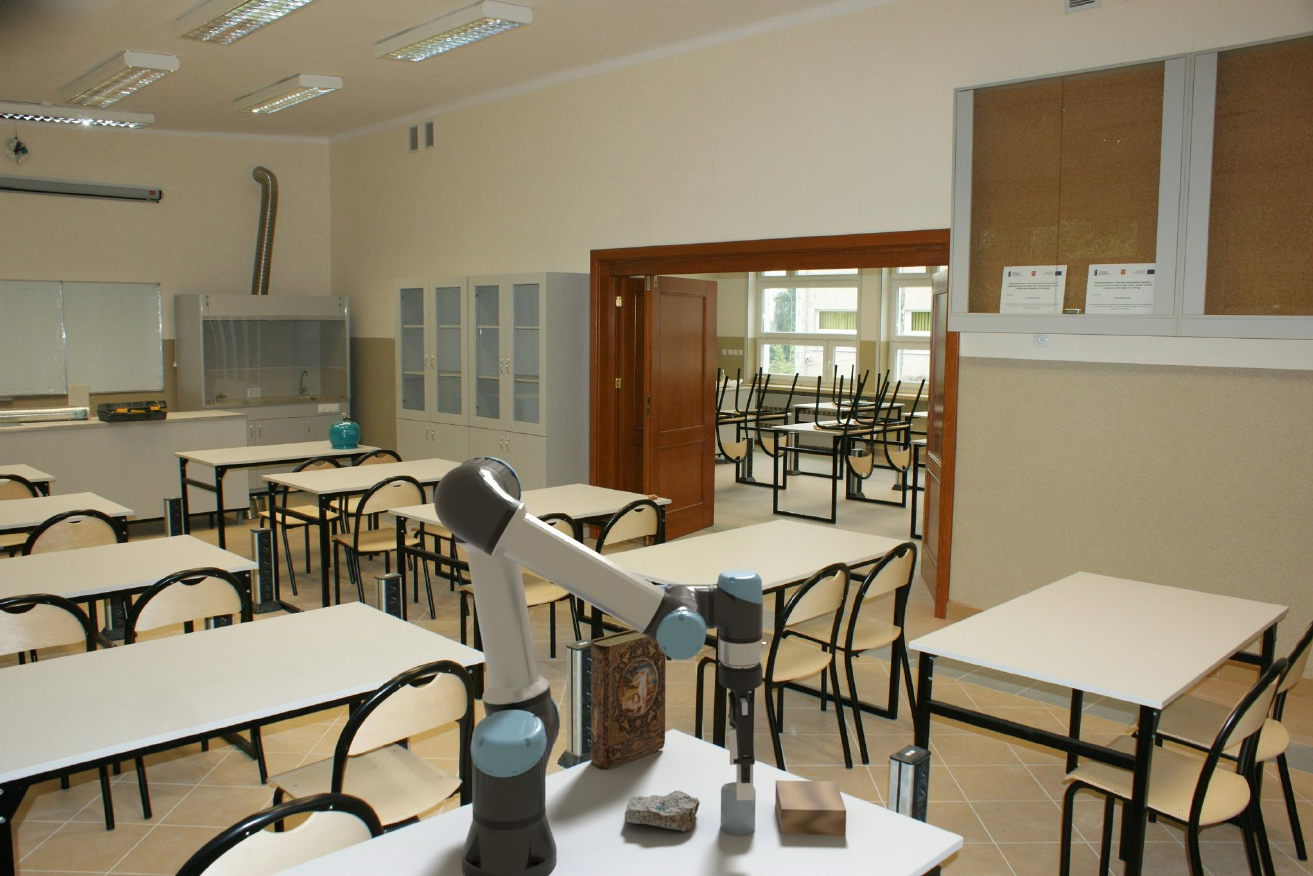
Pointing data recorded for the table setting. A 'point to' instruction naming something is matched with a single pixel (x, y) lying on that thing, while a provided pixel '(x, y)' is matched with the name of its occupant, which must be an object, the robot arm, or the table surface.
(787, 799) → the walnut block
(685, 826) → the rock
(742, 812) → the grey rounded cylinder
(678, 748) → the table surface
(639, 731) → the book
